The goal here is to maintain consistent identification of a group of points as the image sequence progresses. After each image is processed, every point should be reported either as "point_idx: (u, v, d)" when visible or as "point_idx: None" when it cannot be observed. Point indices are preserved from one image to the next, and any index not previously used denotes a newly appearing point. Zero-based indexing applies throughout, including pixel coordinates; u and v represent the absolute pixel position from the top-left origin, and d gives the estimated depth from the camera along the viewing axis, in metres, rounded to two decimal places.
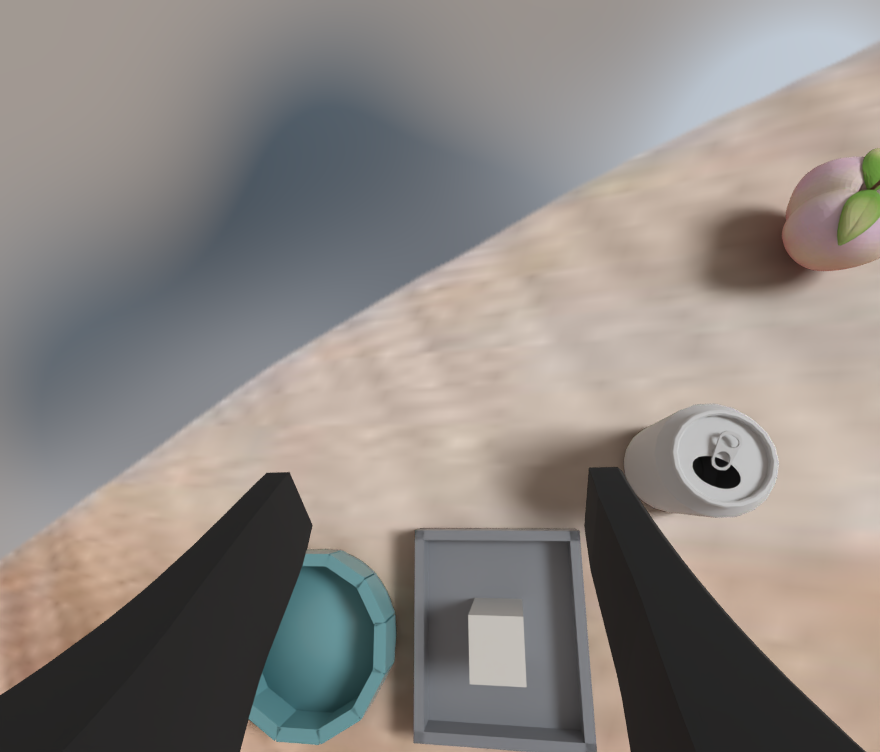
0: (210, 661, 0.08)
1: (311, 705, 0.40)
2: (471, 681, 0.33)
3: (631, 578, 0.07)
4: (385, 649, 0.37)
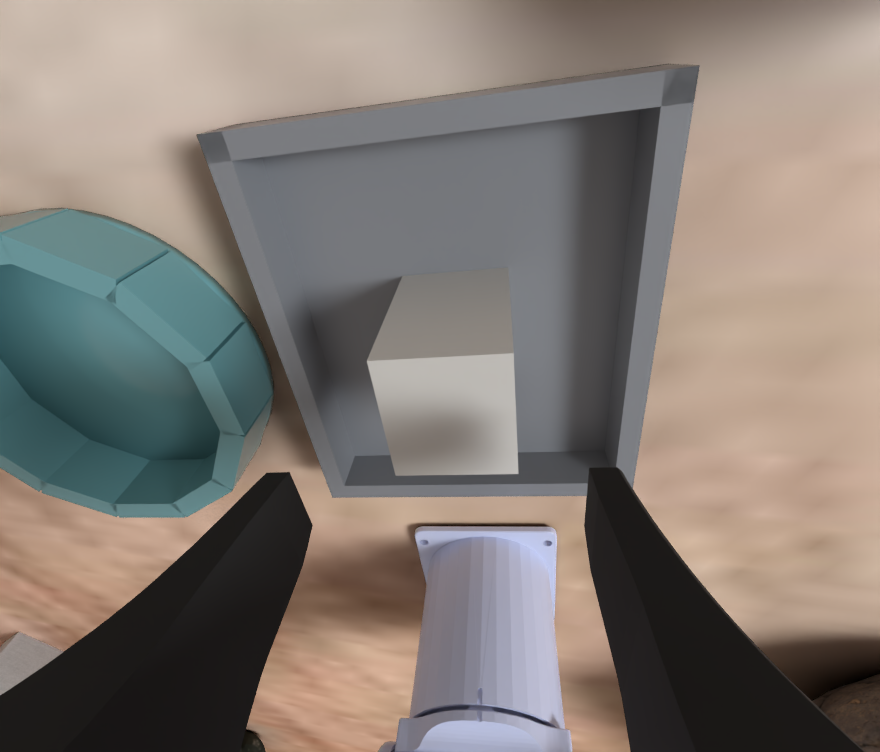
0: (210, 661, 0.08)
1: (168, 453, 0.25)
2: (398, 471, 0.15)
3: (631, 578, 0.07)
4: (228, 402, 0.18)
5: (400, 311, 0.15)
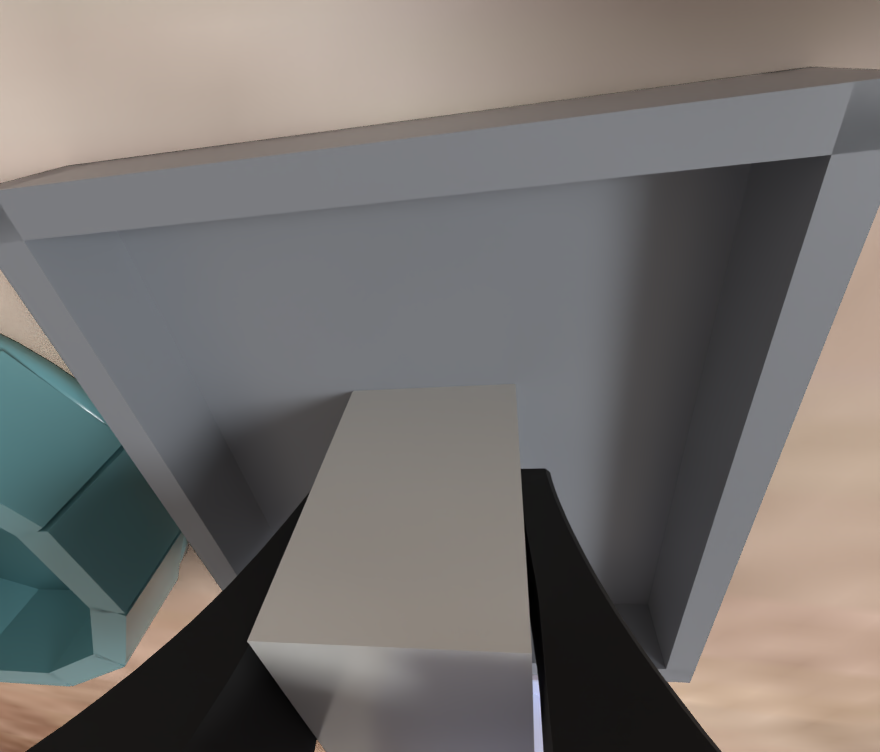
0: None
1: (60, 583, 0.18)
2: None
3: (534, 576, 0.08)
4: (91, 578, 0.12)
5: (335, 484, 0.09)
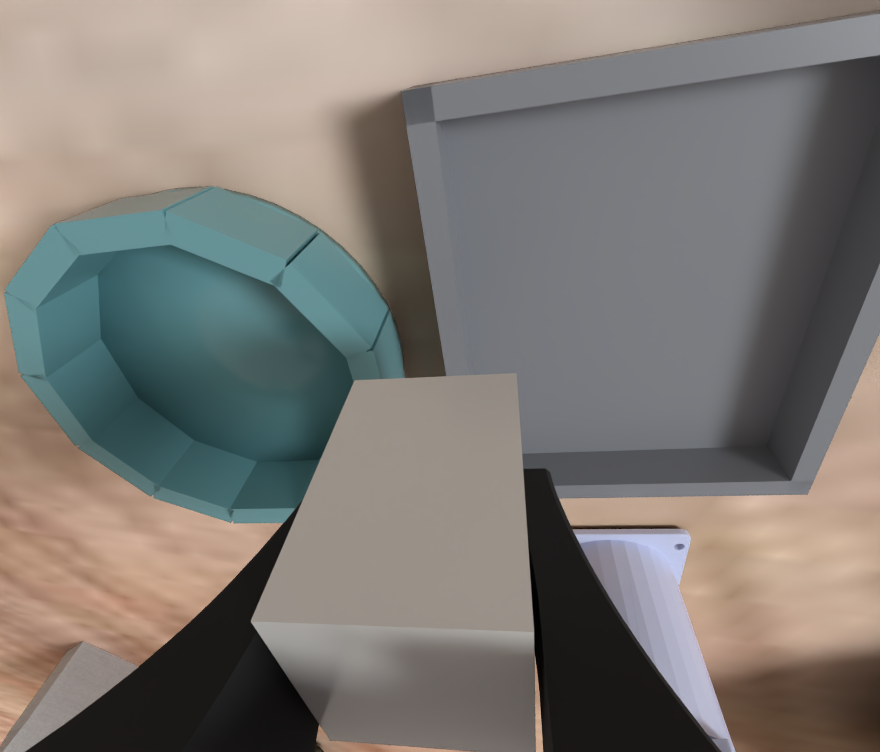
0: None
1: (278, 454, 0.23)
2: (334, 738, 0.09)
3: (534, 576, 0.08)
4: None
5: (337, 470, 0.09)
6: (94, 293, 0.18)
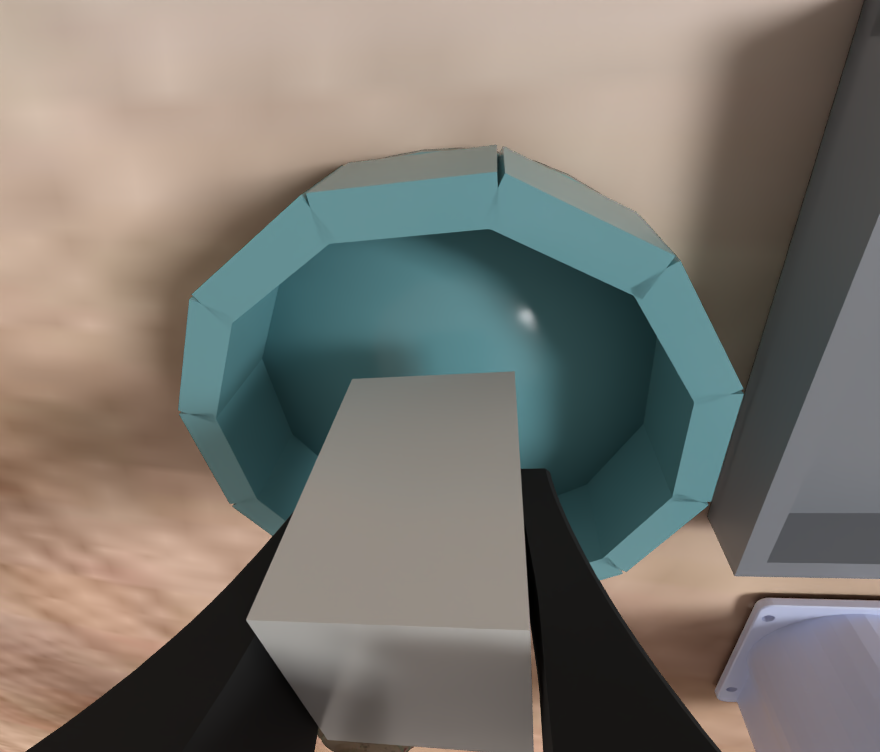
0: None
1: None
2: (331, 737, 0.09)
3: (534, 576, 0.08)
4: (723, 456, 0.11)
5: (334, 468, 0.09)
6: (273, 298, 0.13)
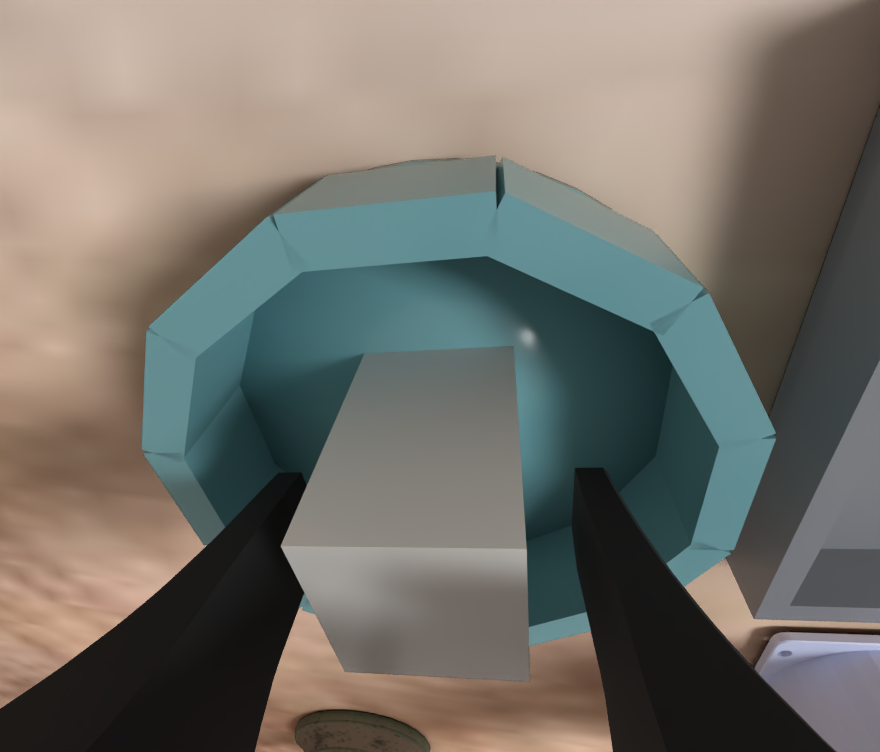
0: (225, 662, 0.08)
1: None
2: (349, 669, 0.10)
3: (611, 578, 0.07)
4: (750, 503, 0.10)
5: (351, 427, 0.10)
6: (249, 323, 0.12)
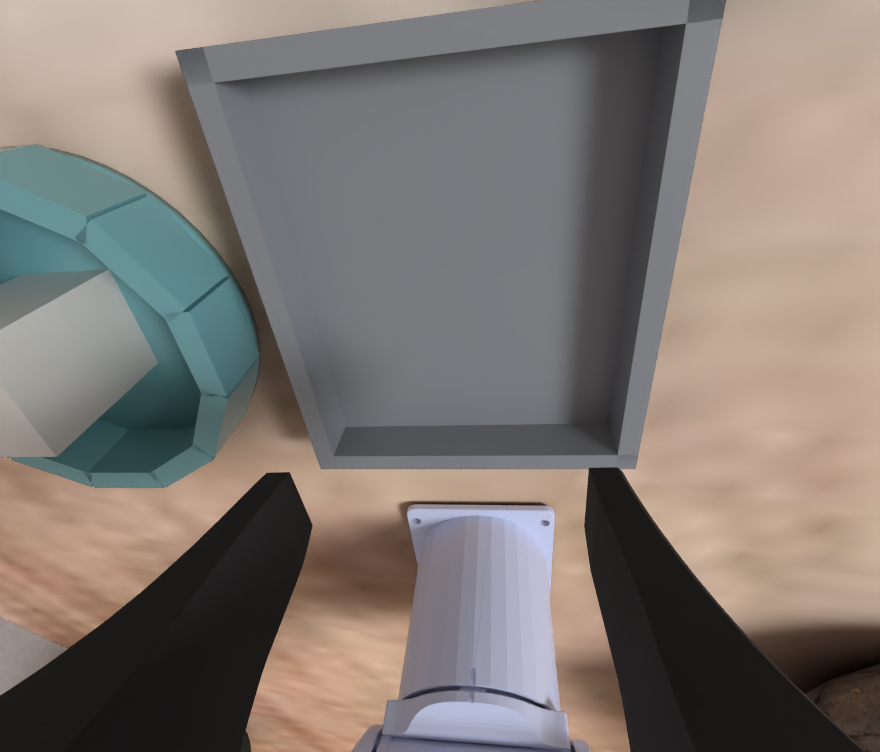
0: (210, 661, 0.08)
1: (148, 422, 0.23)
2: None
3: (631, 578, 0.07)
4: (209, 359, 0.17)
5: None
6: None
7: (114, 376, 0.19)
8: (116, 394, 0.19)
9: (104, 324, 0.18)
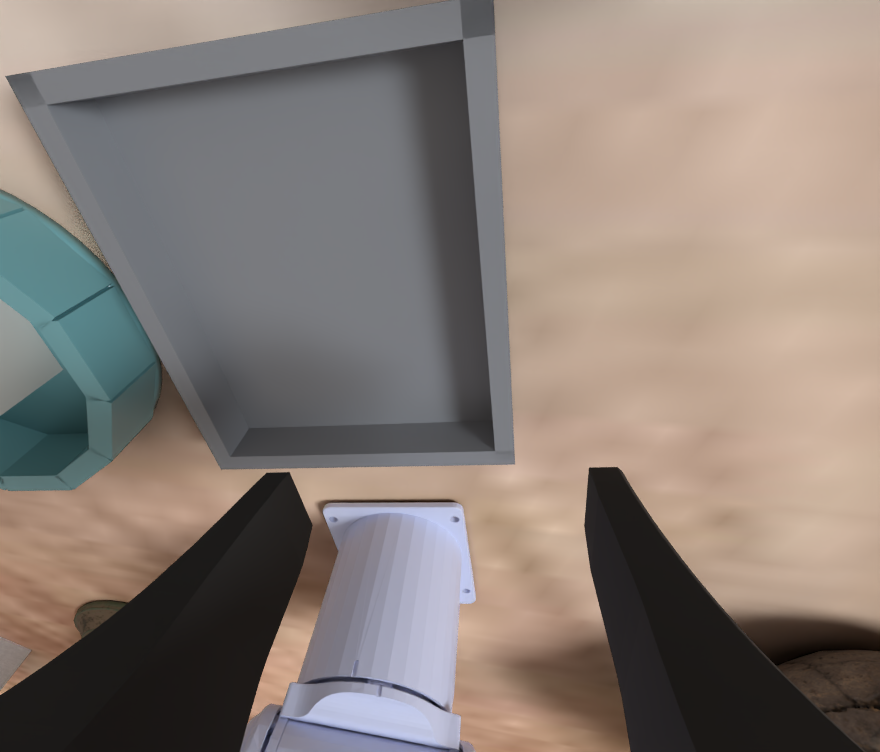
0: (210, 661, 0.08)
1: (64, 427, 0.24)
2: None
3: (631, 578, 0.07)
4: (86, 365, 0.18)
5: None
6: None
7: (8, 383, 0.19)
8: (11, 400, 0.20)
9: None
